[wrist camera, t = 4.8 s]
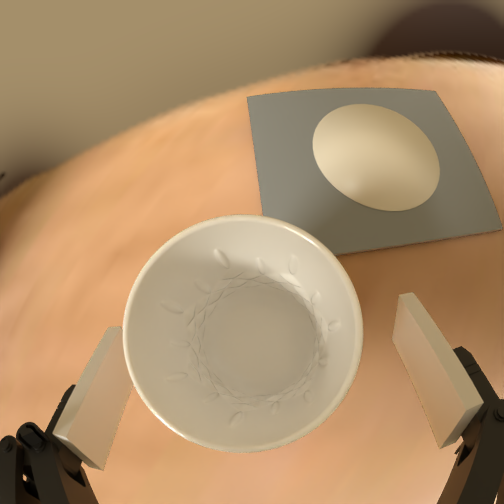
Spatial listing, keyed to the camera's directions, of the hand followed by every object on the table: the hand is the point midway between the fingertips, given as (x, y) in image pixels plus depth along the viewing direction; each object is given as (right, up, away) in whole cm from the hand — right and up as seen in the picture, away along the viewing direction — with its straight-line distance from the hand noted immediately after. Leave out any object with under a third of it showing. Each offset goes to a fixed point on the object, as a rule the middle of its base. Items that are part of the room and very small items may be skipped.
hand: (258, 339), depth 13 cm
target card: (+10, +12, +9) cm, 18 cm away
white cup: (0, -2, +5) cm, 6 cm away
